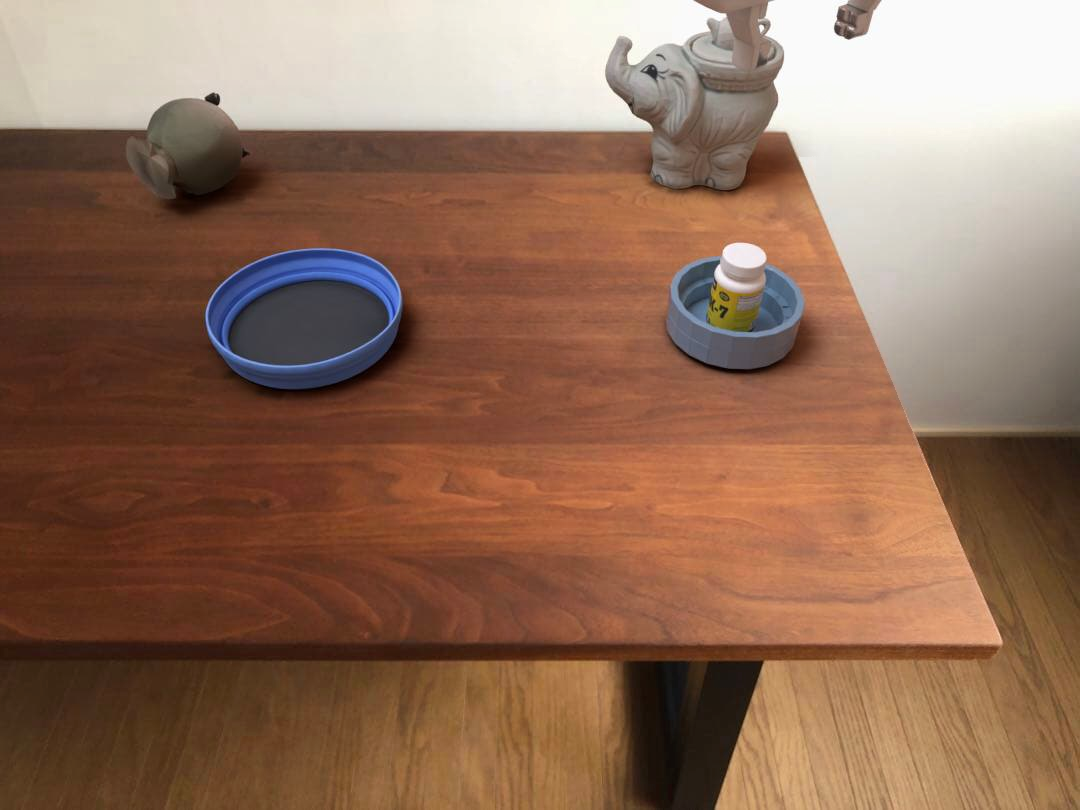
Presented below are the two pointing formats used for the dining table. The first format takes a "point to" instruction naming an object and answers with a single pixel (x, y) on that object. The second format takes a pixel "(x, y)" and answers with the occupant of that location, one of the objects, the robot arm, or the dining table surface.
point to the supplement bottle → (737, 288)
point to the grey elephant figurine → (698, 105)
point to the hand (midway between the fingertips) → (800, 50)
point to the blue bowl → (727, 346)
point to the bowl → (305, 317)
